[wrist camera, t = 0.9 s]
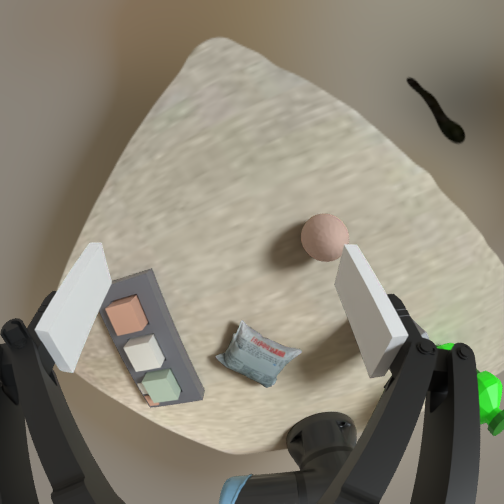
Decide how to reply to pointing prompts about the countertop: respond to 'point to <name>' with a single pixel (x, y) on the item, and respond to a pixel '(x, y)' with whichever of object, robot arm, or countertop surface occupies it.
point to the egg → (324, 237)
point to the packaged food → (256, 356)
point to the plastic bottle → (488, 398)
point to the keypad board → (163, 331)
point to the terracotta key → (127, 315)
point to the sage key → (161, 385)
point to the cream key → (144, 352)
